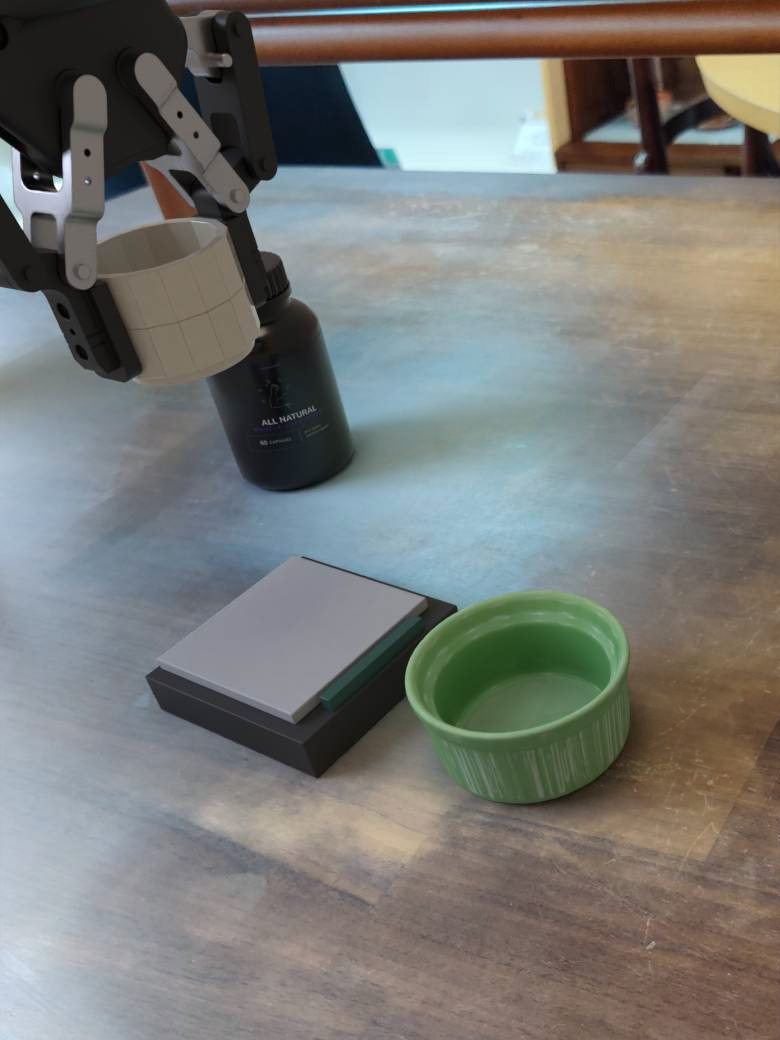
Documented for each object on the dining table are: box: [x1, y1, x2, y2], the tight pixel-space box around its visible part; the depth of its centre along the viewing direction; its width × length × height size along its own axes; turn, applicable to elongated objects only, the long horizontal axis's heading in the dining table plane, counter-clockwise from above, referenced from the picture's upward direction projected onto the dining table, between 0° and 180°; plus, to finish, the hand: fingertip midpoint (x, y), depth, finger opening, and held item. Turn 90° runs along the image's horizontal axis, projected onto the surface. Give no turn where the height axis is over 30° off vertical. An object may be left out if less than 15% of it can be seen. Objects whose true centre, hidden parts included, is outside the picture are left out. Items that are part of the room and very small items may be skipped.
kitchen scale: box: [144, 555, 459, 778], centre depth 54 cm, size 10×10×3 cm
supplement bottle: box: [205, 250, 354, 491], centre depth 67 cm, size 7×7×12 cm
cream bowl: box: [96, 216, 260, 387], centre depth 46 cm, size 6×6×4 cm
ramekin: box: [405, 589, 631, 805], centre depth 49 cm, size 9×9×4 cm
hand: (185, 337), depth 47 cm, fingers closed on cream bowl, 6 cm apart
